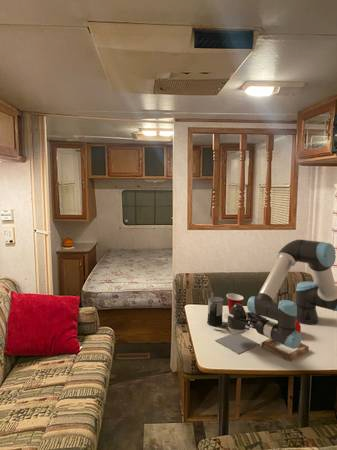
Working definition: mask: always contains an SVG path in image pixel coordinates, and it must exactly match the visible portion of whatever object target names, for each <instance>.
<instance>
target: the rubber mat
mask: <svg viewBox="0 0 337 450" xmlns="http://www.w3.org/2000/svg"><path fill="white" fill-rule="evenodd" d="M214 342H216V343H218V344H220V345H221V346H223V347H225V348H227V349H228V350H230V351H232V352H234V353H236V354H237V355H240V354H242V353H245V352H247V351H250V349H253V348H255V347H257V346H260V343H258V342H256V341H254V340H252V339H250V338H248V337H247V336H244V335H242V334H234V333H232V332H231V333H230V334H227V335H225V336H223V337H219V338H217V339H215V340H214Z"/></svg>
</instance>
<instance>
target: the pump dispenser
mask: <svg viewBox="0 0 337 450" xmlns="http://www.w3.org/2000/svg"><path fill="white" fill-rule="evenodd" d="M245 311H246V309H245V307H244V306H243V305H242V303H241V304H235V305H233V307H232V308H231V311H230V313H229V312H228V313H229V314H231V315H233V316H235V317H236V318H241V319H246V320H247V319H248V317H246V313H245ZM226 324H227V326H226V327H227V329H228V330H229V332H230V333H231V334H232V333H234V334H240V335H242V334H244V333H245V332H246V330H247V329H245V328H243V327H240V326H237V325H234V324H231V320H229V319H227V323H226Z"/></svg>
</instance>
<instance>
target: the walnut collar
mask: <svg viewBox="0 0 337 450" xmlns="http://www.w3.org/2000/svg"><path fill="white" fill-rule="evenodd" d="M276 343H278V342H277V341H274V340H272V339H270V338H268V339H266V340H264V341H261V348H263V349H265V350H267V351H269V352H270V353H273V354H275V355H277V356H278V357H280V358H282V359H284V360H287V361H288V362H292V361H293V360H295V359H296V358H299V357H300V356H302V355H303V354H306V353H307V352H309V348H310V346H309V345H308V344H305V343H303V342H301V343H300V345H299V347H297V348H296V350H294V351H292V352H290V353H288V352H287V351H284V350H282V349H280V348H278V347H276V346H275V345H274V344H276ZM273 345H274V346H273Z"/></svg>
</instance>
